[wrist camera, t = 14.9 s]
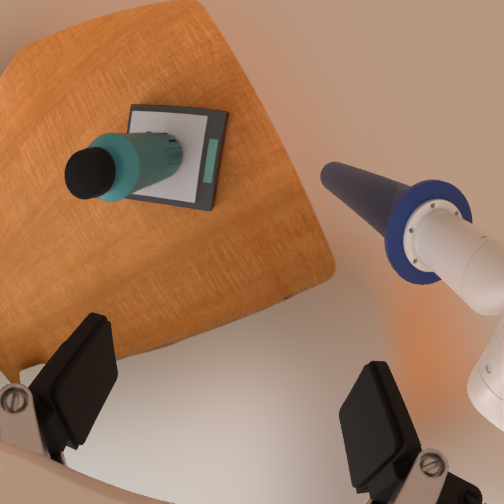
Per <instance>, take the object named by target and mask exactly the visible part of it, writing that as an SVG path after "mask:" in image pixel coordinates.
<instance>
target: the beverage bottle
mask: <svg viewBox="0 0 504 504" xmlns="http://www.w3.org/2000/svg"><path fill="white" fill-rule="evenodd" d="M154 132H158V131H154ZM178 141H179V140H177V139H176V138H175V137H174V135H170V134H168V133H152V132H147V133H129V132H128V133H123V132H122V133H119V134H118V133H108V134H104V135H101V136H99V137H98V138H96V139H95V140H94V141H93V142H92V143H91V144H90V145H89V147H88V148H86V149H84V150H80V151H78V152H76V153H74V154H73V155H72V156H71V157H70V159H69V160H68V162H67V164H66V168H65V182H66V185H67V188H68V189H69V191H70V192H71V193H72V194H73V195H74V196H75V197H77V198H79V199H90V198H96V197H97V198H99V199H101V200H103V201H108V202H114V201H119V200H121V199H123V198H125V197H127V196H128V195H130V194H132V193H134V192H137V191H139V190H141V189H143V188H145V187H147V188H148V186H149V187H150V186H151V185H153V184H155V183H157V182H159V181H161V182H162V180H164V179H166V178H169V177H172V175H173V174H175V173H176V172H177V170H178V169H179V167H180V165H181V163H182V158H183V152H182V150H183V149H182V148H181V145H180V143H179V142H178ZM159 183H160V182H159ZM155 185H156V184H155ZM145 189H146V188H145Z"/></svg>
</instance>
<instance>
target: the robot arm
mask: <svg viewBox="0 0 504 504" xmlns="http://www.w3.org/2000/svg"><path fill="white" fill-rule="evenodd" d="M403 245H404V251H405V254H406V257H407V258H408V260H409V261H410V263H411V264H412V265H413V266H415V267H416V268H417V269H419V270H421V271H425V272H435V273H436V274H437V275H438V276H439V277H440V278H441V279H442V280H443V281H444V282H445V283H446V284H447V285H448V286H449V287H450V288H451V289H452V290H453V291H454V292H455V293H456V294H458V295H459V296H460V298H461V299H462V300H464V301H465V302H466V303H467V304H468V305H469V306H470V307H471V308H472V309H473V310H474V311H475V312H477V313H479V314H481V315H485V316H496V315H502V314H503V315H502V318H501V320H500V322H499V325H498V327H497V329H496V331H495V333H494V335H493V337H492V339H491V340H490V342H489V344H488V346H487V347H486V349H485V351H484V353H483V354H482V356H481V357H480V359H479V360H478V362H477V364H476V365H475V367H474V369H473V371H472V373H471V374H470V377H469V380H468V385H467V390H468V395H469V398H470V400H471V402H472V404H473V405H474V407H475V408H476V409H477V410H478V411H479V412H480V413H481V414H482V415H483V416H484V417H485V418H486V419H488V420H489V421H490V422H491V423H493V424H494V425H495V426H497V427H498V428H499V429H501V430H502V431H503V432H504V241H502V240H500V239H498V238H497V237H495V236H493V235H492V234H490V233H488V232H486V231H484V230H483V229H481V228H479V227H477V226H475V225H473V224H472V223H470V222H468V221H466V220H464V219H462V216H461V214H460V211H459V210H458V209H457V207H456V206H455V205H453V204H452V203H450V202H448V201H446V200H443V199H431V200H428V201H426V202H424V203H423V204H421V205H420V206H419V207H417V208H416V209H415V210H414V212H413V213H412V215H411V216H410V218H409V220H408V222H407V224H406V227H405V230H404V236H403ZM117 376H118V371H117V365H116V358H115V352H114V345H113V338H112V330H111V323H110V321H107V318H106V316H104V315H100V314H97V313H93V312H91V313H90V314H89V315H88V316H87V317H86V318H85V319H84V320H83V322H82V323H81V324H80V325H79V326H78V327H77V329H76V330H75V331H74V332H73V333H72V335H71V336H70V337H69V338H68V339H67V340H66V341H65V342H64V343H63V344H62V345H61V346H60V347H59V349H58V350H57V351H56V352H55V353H54V355H53V356H52V357H51V358H50V360H49V361H48V362H47V364H46V365H45V366H44V367H43V369H42V370H41V371H40V373H39V374H38V375H37V376H36V378H35V379H34V381H33V382H32V383H31V385H30V386H29V387H26V386H25V385H23V384H20V383H11V384H8V385H6V386H5V387H3V388H2V389H1V390H0V504H174V503H169V502H165V501H161V500H157V499H153V498H149V497H147V496H143V495H139V494H136V493H133V492H130V491H127V490H124V489H121V488H118V487H115V486H113V485H110V484H107V483H105V482H102V481H99V480H97V479H94V478H92V477H89V476H87V475H84V474H82V473H80V472H77V471H75V470H73V469H71V468H68V466H67V463H66V460H65V457H64V454H63V451H64V449H65V447H66V446H68V447H71V448H73V449H75V450H77V448H78V446H79V445H83V444H84V443H85V441H86V439H87V437H88V435H89V432H90V430H91V428H92V426H93V424H94V422H95V420H96V418H97V416H98V414H99V412H100V410H101V409H102V407H103V405H104V403H105V401H106V399H107V397H108V395H109V393H110V391H111V389H112V387H113V386H114V383H115V382H116V380H117ZM339 419H340V424H341V429H342V434H343V438H344V444H345V449H346V454H347V460H348V465H349V471H350V476H351V482H352V486H353V487H354V488H356V491H357V494H359V493H366V492H369V494H370V499H369V501H368V502H367V504H482V494H481V491H480V490H479V489H478V488H477V487H476V486H474V485H473V484H471V483H468V482H467V481H465V480H463V479H461V478H459V477H457V476H455V475H454V474H452V473H450V472H448V468H449V465H448V461H447V459H446V457H445V456H444V455H443V453H441V452H440V451H438V450H435V449H425V450H423V451H422V449H421V444H420V441H419V438H418V436H417V433H416V431H415V428H414V426H413V423H412V420H411V418H410V415H409V413H408V411H407V408H406V406H405V403H404V401H403V398H402V396H401V394H400V392H399V389H398V387H397V385H396V382H395V380H394V378H393V375H392V373H391V371H390V369H389V366H388V364H387V363H386V362H384V361H371V362H370V363H369V364H367V365H365V366H364V368H363V370H362V372H361V374H360V375H359V377H358V379H357V381H356V383H355V384H354V386H353V388H352V390H351V392H350V393H349V395H348V397H347V398H346V400H345V402H344V403H343V405H342V407H341V408H340V411H339ZM484 504H486V503H484Z"/></svg>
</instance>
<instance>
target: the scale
mask: <svg viewBox="0 0 504 504" xmlns="http://www.w3.org/2000/svg"><path fill="white" fill-rule="evenodd" d="M228 115H229V113H228V112H226V111H219V110H211V109H201V108H190V107H178V106H162V105H135V104H132V105H131V108H130V115H129V121H128V129H127V133H128V132H129V133H147V132H152V133H168V134H170V135H174V137H175V138H176V139H177V140H179V141H178V142H179V143H180V145H181V148H182V149H183V150H182V152H183V158H182V163H181V165H180V167H179V169H178V170H177V172H176V173H175V174H173V175H172V177H169V178H166V179H164V180H162V182H161V181H159V182H160V183H159V182H157V183H155V184H156V185H155V184H153V185H151V186H150V187H149V186H148V188H147V187H145V188H146V189H145V188H143V189H141V190H139V191H137V192H134V193H132V194H130V195H128V196H127V197H125V198H126V199H133V200H140V201H147V202H154V203H160V204H167V205H173V206H180V207H186V208H193V209H199V210H205V211H211V210H212V209H213V208H214V202H215V195H216V188H217V181H218V175H219V168H220V162H221V156H222V150H223V144H224V138H225V132H226V126H227V120H228ZM154 131H158V132H154Z"/></svg>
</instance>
